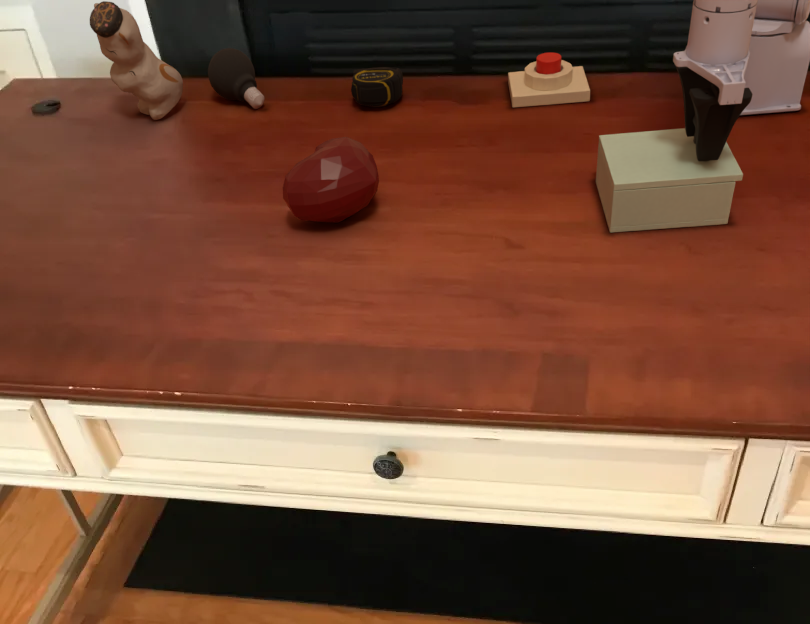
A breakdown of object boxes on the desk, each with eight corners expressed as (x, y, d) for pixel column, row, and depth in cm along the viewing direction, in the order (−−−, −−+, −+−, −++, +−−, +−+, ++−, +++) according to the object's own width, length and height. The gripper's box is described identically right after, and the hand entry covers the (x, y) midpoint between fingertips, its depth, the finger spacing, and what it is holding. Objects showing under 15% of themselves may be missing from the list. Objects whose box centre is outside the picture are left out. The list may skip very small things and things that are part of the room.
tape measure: (404, 90, 124) (402, 61, 121) (401, 111, 119) (399, 82, 116) (355, 93, 124) (352, 65, 122) (351, 114, 120) (347, 85, 117)
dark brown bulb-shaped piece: (246, 86, 118) (202, 40, 121) (238, 129, 123) (195, 85, 126) (284, 79, 122) (240, 35, 125) (274, 122, 127) (232, 79, 130)
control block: (582, 76, 122) (583, 53, 120) (589, 101, 116) (591, 77, 114) (508, 82, 122) (508, 59, 120) (512, 107, 117) (512, 84, 115)
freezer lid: (717, 131, 98) (723, 96, 95) (742, 180, 91) (749, 144, 88) (598, 141, 99) (601, 107, 96) (613, 190, 91) (616, 155, 89)
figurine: (112, 115, 127) (74, -4, 115) (180, 96, 129) (149, -22, 118) (129, 137, 121) (90, 15, 110) (199, 116, 124) (168, -5, 112)
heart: (408, 188, 103) (338, 186, 108) (393, 120, 98) (319, 121, 103) (358, 242, 97) (284, 238, 101) (338, 173, 91) (262, 171, 96)
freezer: (704, 173, 102) (711, 132, 98) (727, 224, 94) (735, 182, 91) (595, 181, 102) (598, 141, 99) (609, 232, 95) (613, 191, 91)
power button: (559, 65, 118) (560, 51, 117) (562, 75, 116) (562, 60, 115) (535, 67, 119) (535, 53, 117) (537, 77, 117) (537, 62, 115)
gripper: (666, -20, 89) (650, 119, 99) (697, 35, 79) (676, 183, 89) (739, -27, 88) (716, 113, 98) (779, 27, 79) (748, 177, 89)
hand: (701, 146), depth 94 cm, fingers closed on freezer lid, 5 cm apart
